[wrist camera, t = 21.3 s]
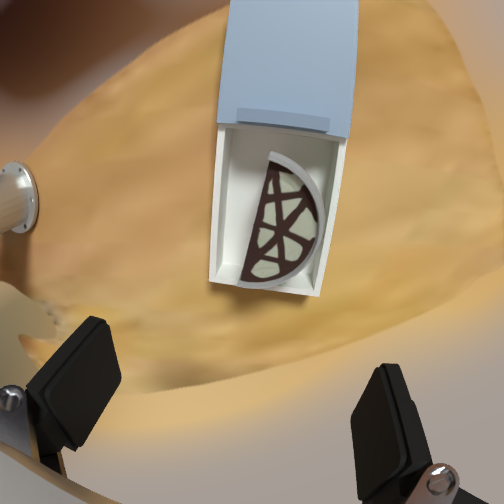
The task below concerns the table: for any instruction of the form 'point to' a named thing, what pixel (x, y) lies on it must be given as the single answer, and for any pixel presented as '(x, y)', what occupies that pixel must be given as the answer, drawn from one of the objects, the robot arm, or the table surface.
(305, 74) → the lid
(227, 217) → the white rectangular tray
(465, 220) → the table surface
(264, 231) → the food container
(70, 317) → the table surface
